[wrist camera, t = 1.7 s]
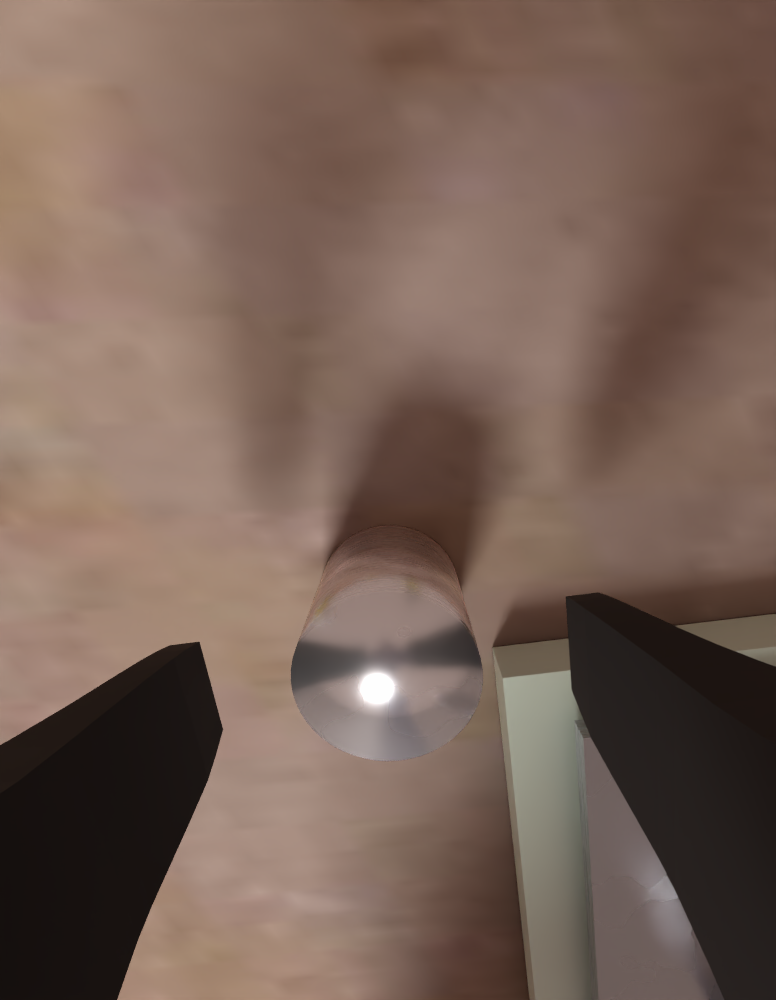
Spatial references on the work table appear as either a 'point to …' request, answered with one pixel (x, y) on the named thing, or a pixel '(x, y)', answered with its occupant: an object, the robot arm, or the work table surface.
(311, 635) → the cylinder
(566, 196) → the work table surface
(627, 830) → the scale platform
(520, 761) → the scale
